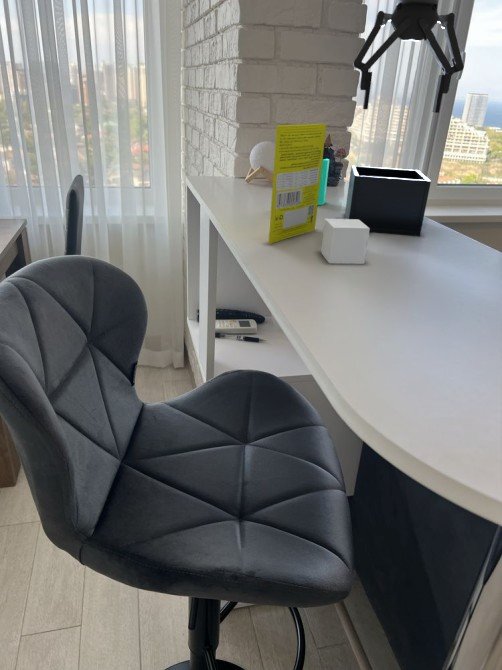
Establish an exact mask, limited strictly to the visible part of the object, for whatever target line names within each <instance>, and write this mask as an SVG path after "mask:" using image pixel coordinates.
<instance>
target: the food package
mask: <svg viewBox="0 0 502 670" xmlns="http://www.w3.org/2000/svg"><path fill="white" fill-rule="evenodd" d="M275 128H276V130H275V131H276V132H275V146H274V159H273V160H274V162H273V177H272V190H271V206H270V218H269V220H270V221H269V234H268V245H271V244H274V243H277V242H281V241H284V240H286V239H291V238H292V237H296V236H300V235H303V234H307V233H310V232H313V231H315V230H316V224H317V223H316V222H317V215H318V206H319V205H318V196H319V187H320V178H321V169H322V160H324V150H325V140H326V130H327V123H308V124H307V123H304V124H303V123H302V124H278V125H276V127H275Z"/></svg>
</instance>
